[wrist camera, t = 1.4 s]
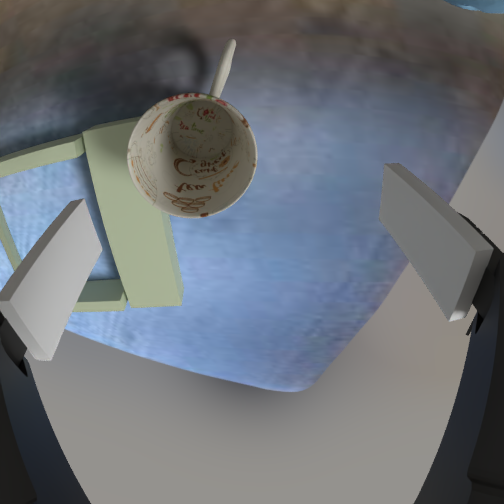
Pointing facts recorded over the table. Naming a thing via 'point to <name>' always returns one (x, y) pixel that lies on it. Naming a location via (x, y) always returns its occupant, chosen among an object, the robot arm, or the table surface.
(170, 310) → the table surface
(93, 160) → the pale green rectangular frame
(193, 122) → the mug
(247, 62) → the table surface
